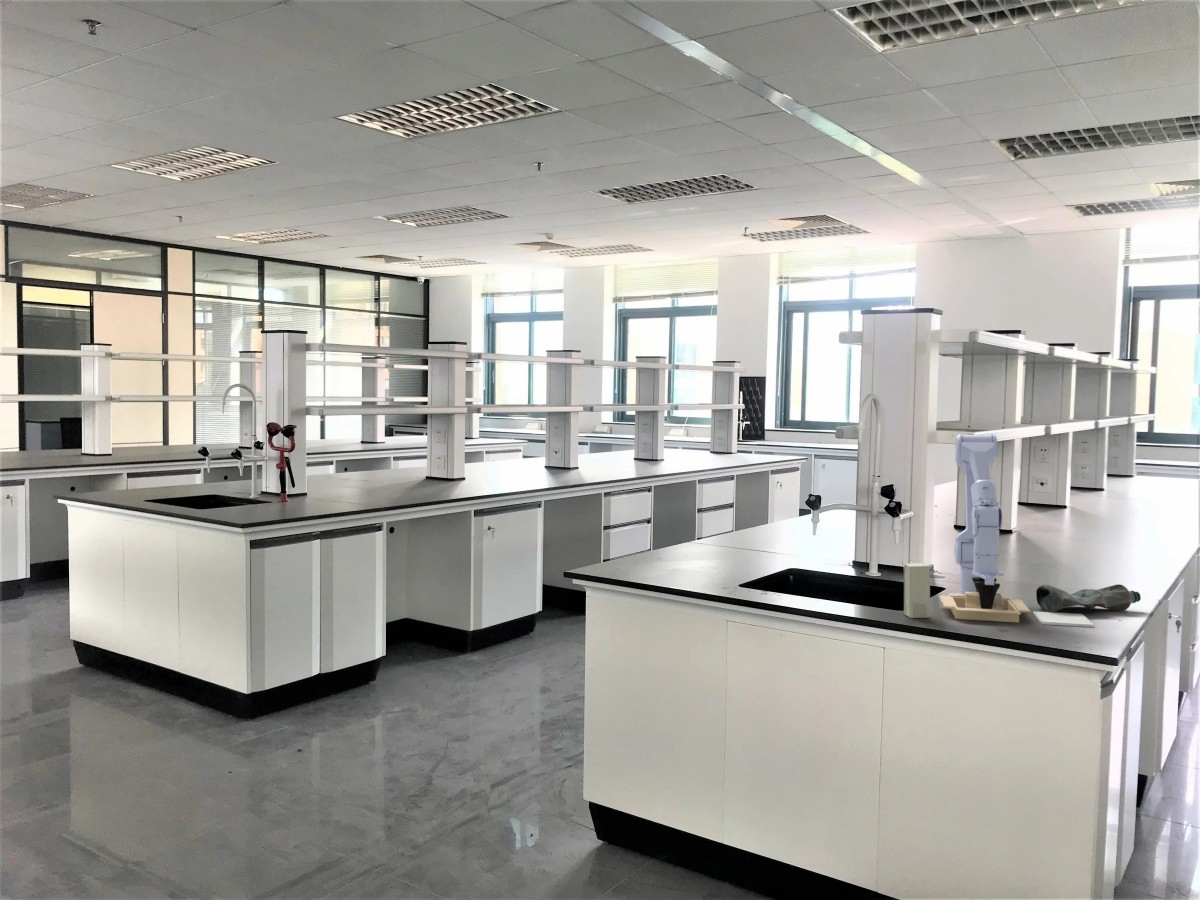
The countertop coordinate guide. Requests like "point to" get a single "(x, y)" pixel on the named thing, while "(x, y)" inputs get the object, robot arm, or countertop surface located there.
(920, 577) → the box
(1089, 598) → the crushed plastic bottle
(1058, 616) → the mat
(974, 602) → the block
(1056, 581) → the countertop surface
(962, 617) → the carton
